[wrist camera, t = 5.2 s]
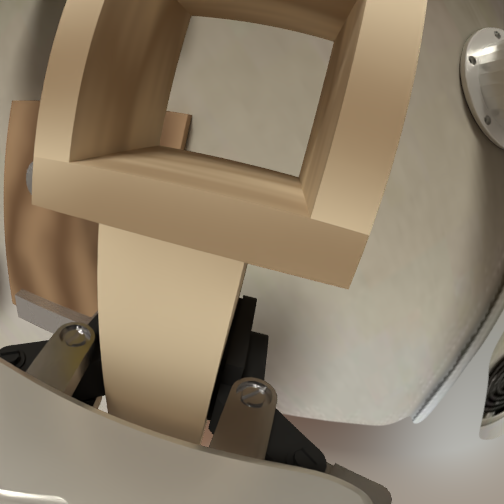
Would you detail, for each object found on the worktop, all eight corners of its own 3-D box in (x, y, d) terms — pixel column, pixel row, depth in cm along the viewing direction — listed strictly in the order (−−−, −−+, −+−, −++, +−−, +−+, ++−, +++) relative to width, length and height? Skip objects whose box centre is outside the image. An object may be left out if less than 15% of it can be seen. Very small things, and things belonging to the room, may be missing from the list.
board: (191, 115, 23) (187, 114, 22) (155, 353, 32) (152, 360, 30) (19, 100, 23) (12, 100, 22) (18, 299, 31) (12, 303, 30)
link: (170, -11, 8) (102, -76, 3) (372, 25, 8) (430, -40, 3) (118, 371, 14) (75, 443, 10) (252, 411, 14) (239, 497, 9)
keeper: (137, 293, 28) (106, 333, 22) (136, 314, 29) (107, 355, 22) (53, 265, 28) (14, 294, 21) (55, 285, 28) (18, 316, 22)
